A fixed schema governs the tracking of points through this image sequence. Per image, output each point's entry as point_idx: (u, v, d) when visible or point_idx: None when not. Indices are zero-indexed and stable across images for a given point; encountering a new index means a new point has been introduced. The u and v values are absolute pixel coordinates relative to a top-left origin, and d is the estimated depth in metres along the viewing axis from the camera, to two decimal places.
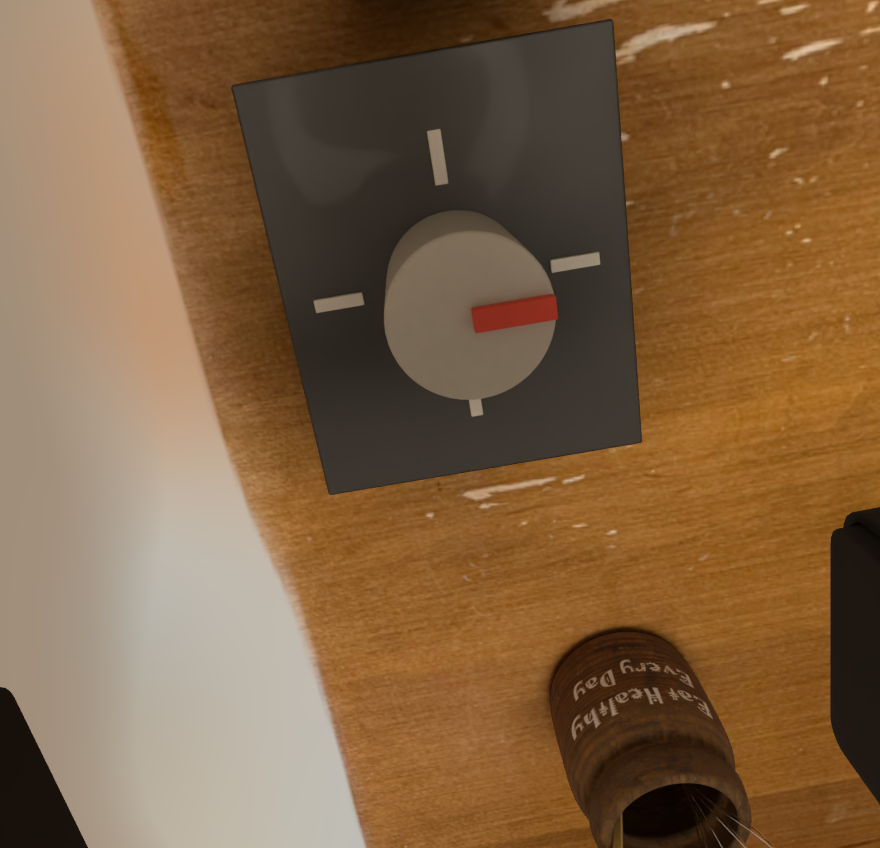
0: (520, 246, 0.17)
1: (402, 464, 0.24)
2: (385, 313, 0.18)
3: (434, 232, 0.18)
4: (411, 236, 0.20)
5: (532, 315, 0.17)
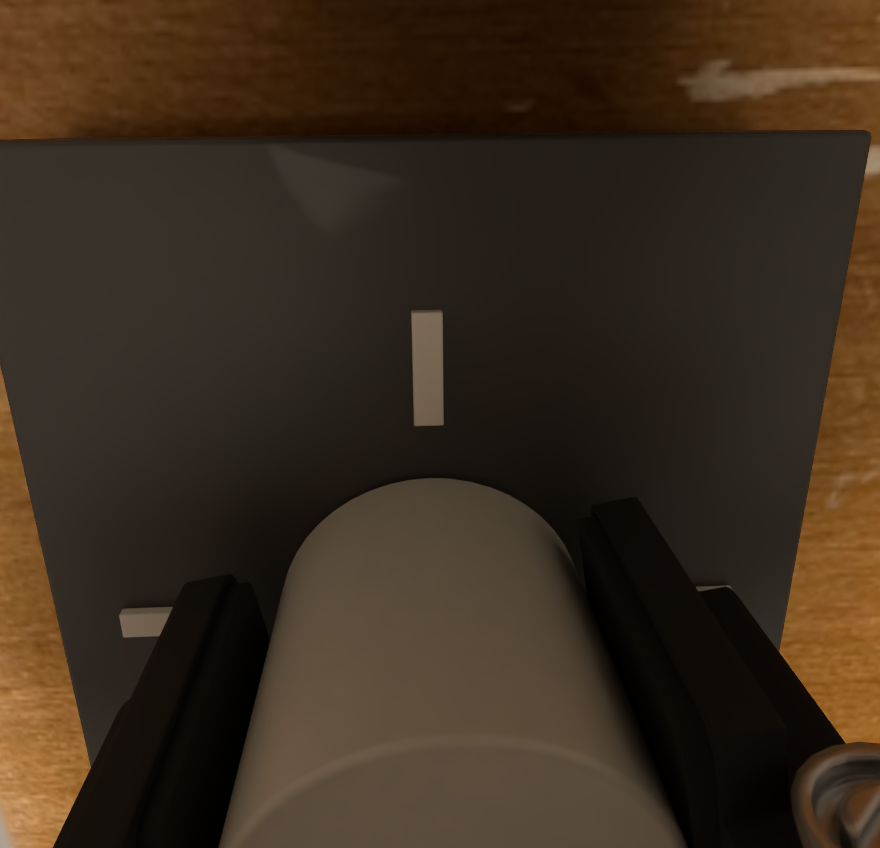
0: (633, 787, 0.06)
1: None
2: None
3: (387, 664, 0.06)
4: (337, 572, 0.08)
5: None
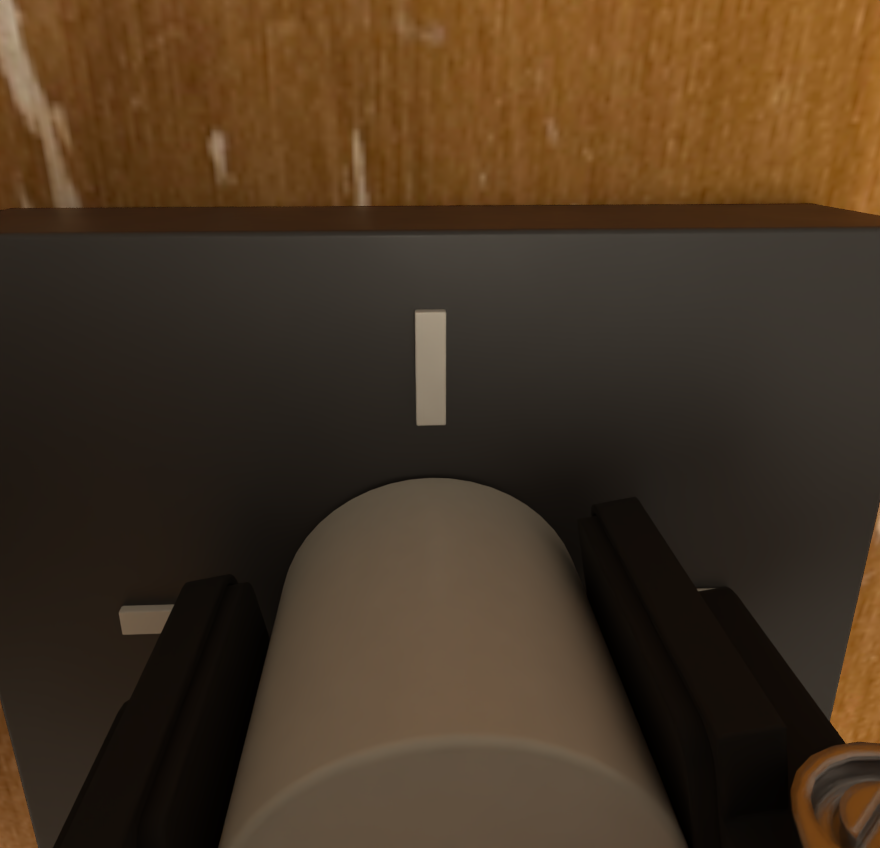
0: (633, 787, 0.06)
1: None
2: None
3: (388, 664, 0.06)
4: (338, 572, 0.08)
5: None
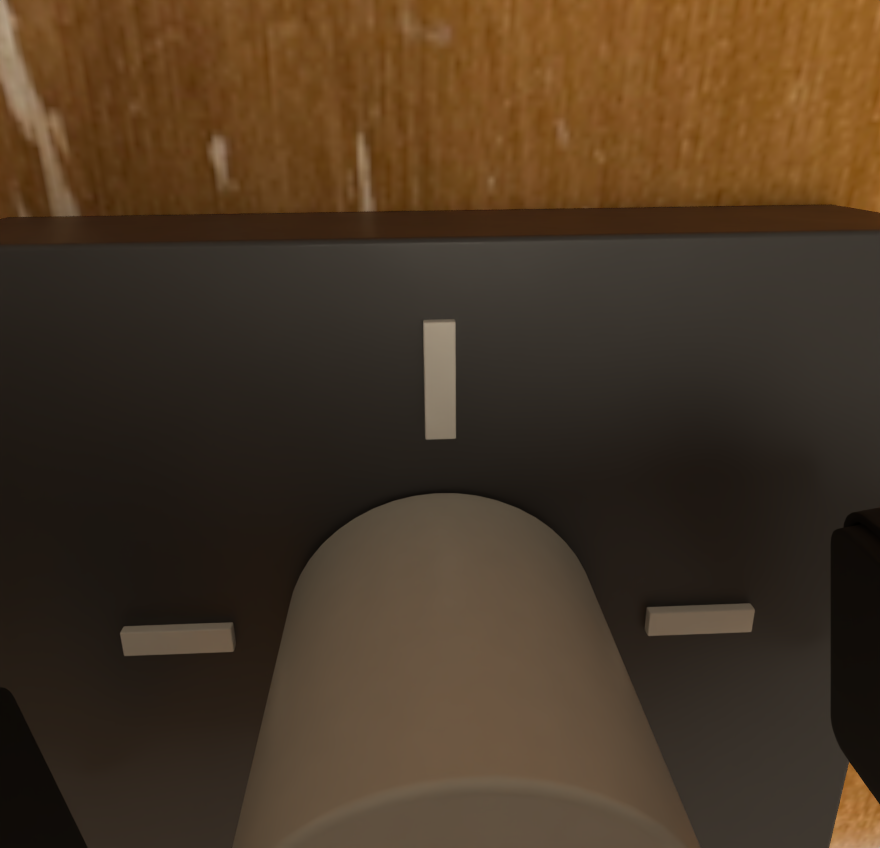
0: (655, 827, 0.05)
1: (809, 757, 0.11)
2: None
3: (391, 699, 0.06)
4: (340, 597, 0.08)
5: None
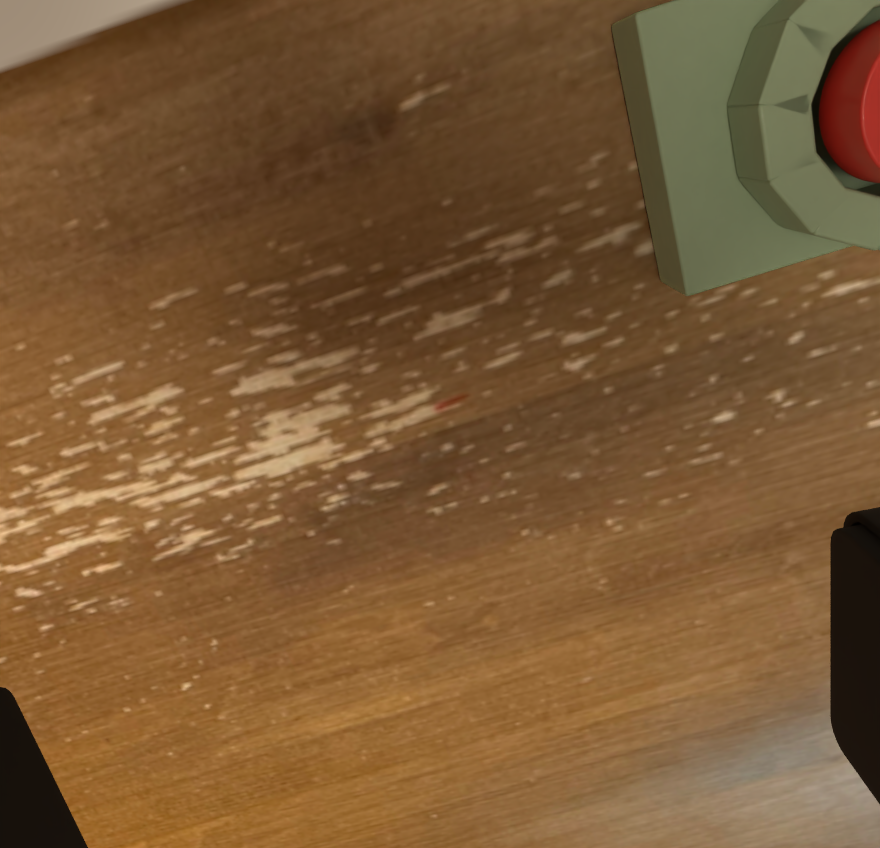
0: None
1: None
2: None
3: None
4: None
5: None
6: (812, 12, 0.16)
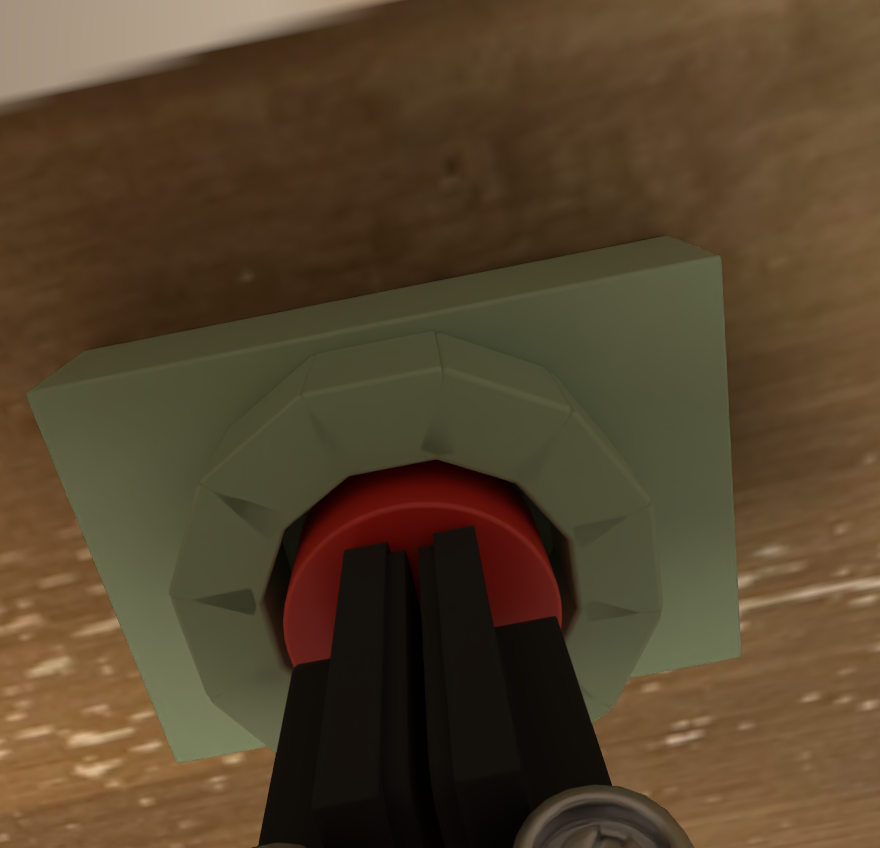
0: None
1: None
2: None
3: None
4: None
5: None
6: (238, 476, 0.09)
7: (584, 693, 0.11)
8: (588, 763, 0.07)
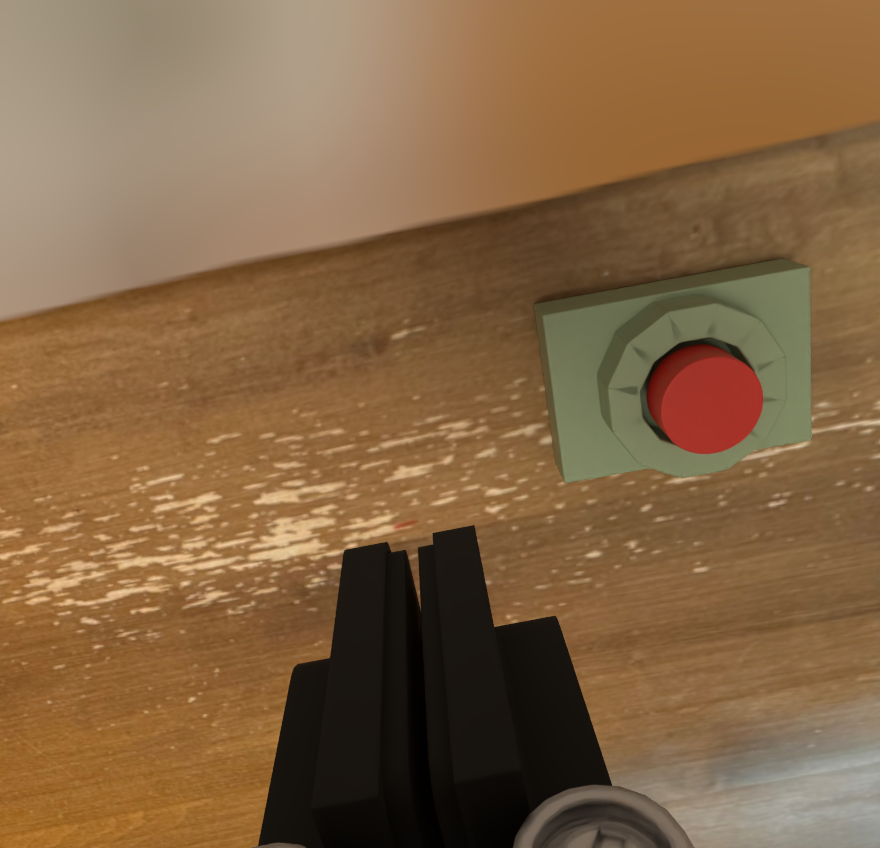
0: None
1: None
2: None
3: None
4: None
5: None
6: (642, 341, 0.27)
7: (754, 434, 0.28)
8: (588, 763, 0.07)
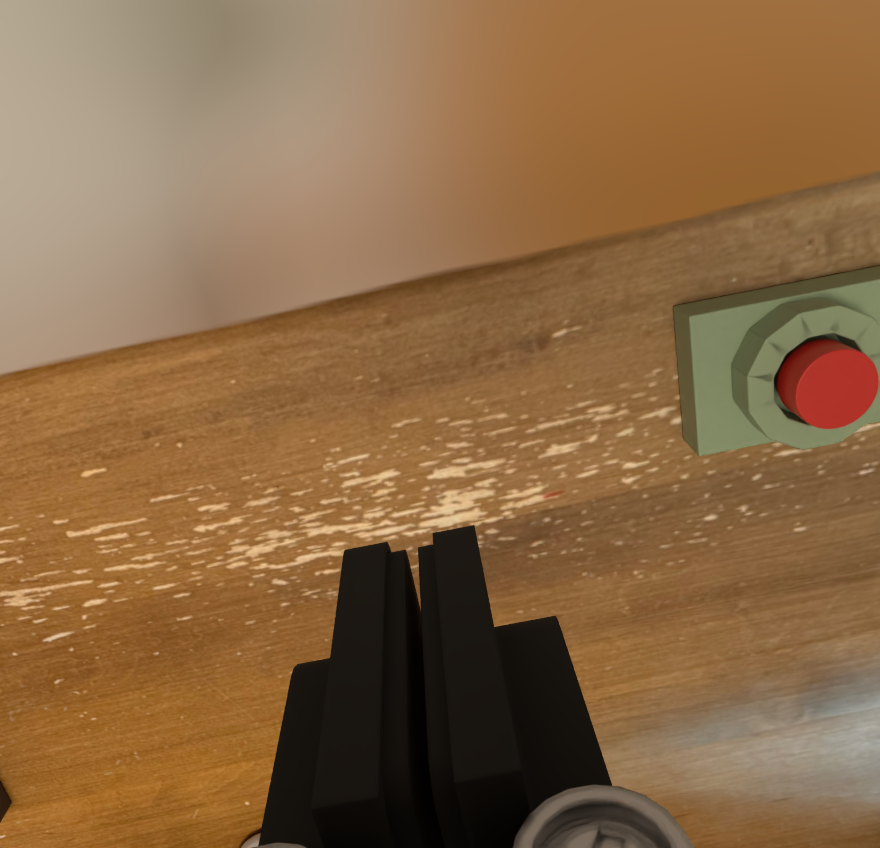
0: None
1: None
2: None
3: None
4: None
5: None
6: (777, 337, 0.33)
7: (864, 413, 0.34)
8: (588, 763, 0.07)
